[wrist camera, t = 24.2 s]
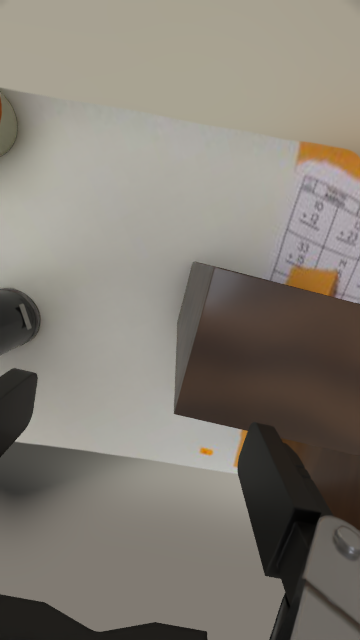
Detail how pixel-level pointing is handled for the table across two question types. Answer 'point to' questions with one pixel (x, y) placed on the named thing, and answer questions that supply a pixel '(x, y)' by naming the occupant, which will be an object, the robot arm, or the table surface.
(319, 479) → the cupboard door
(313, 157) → the table surface
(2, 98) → the reusable coffee cup
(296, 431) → the cupboard
